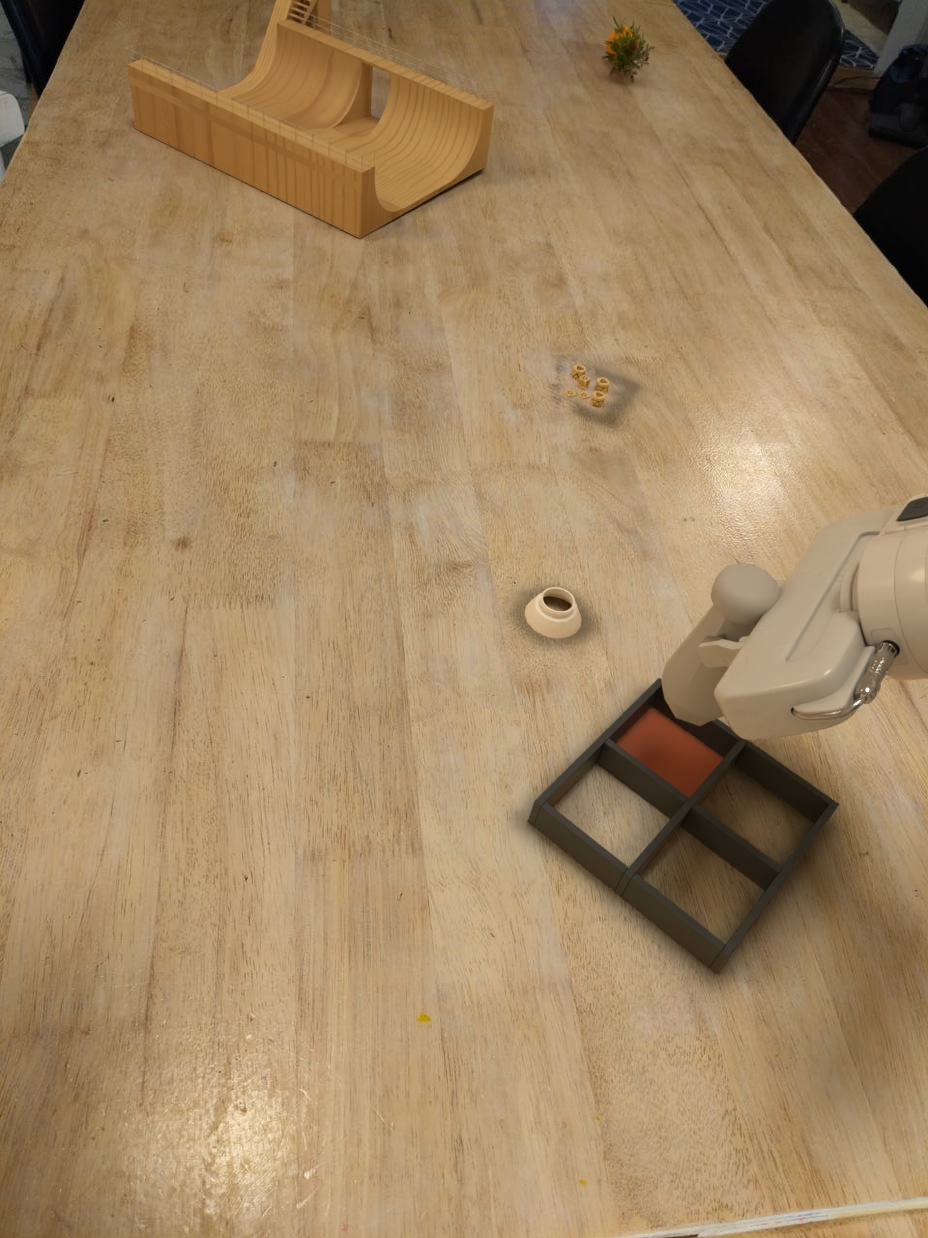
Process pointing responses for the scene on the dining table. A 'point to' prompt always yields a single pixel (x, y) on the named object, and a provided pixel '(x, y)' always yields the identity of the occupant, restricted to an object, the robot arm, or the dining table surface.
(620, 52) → the christmas decoration
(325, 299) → the dining table surface
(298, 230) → the dining table surface
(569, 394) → the golden ring cluster
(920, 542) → the robot arm
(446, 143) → the skate ramp
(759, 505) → the dining table surface
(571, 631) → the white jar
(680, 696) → the beige game pawn
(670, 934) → the grid
